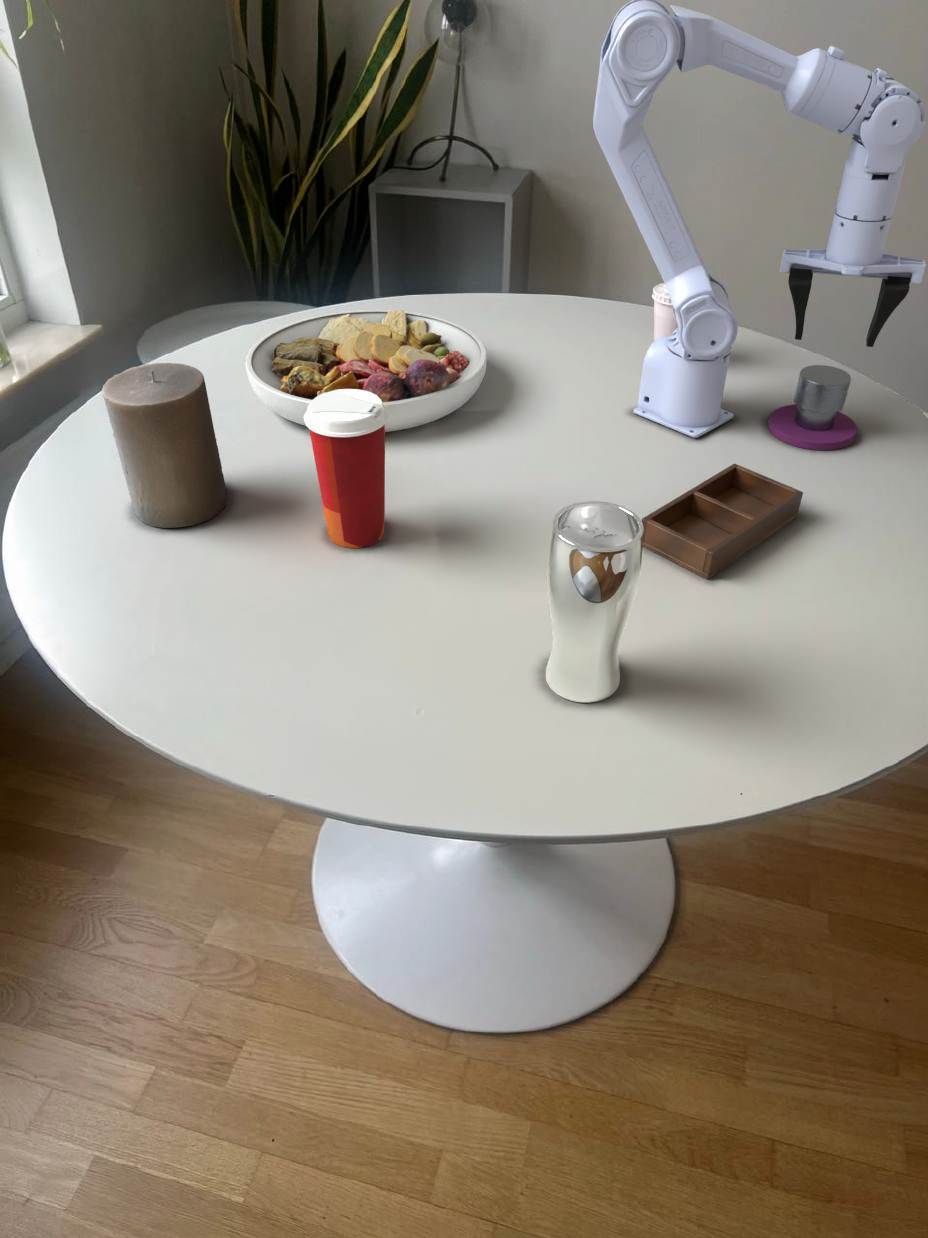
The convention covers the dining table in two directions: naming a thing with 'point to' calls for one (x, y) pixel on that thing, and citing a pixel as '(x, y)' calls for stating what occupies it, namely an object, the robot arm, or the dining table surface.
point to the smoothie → (663, 312)
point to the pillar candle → (166, 444)
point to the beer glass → (591, 596)
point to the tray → (720, 520)
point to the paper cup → (350, 463)
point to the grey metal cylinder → (820, 396)
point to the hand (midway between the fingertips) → (833, 339)
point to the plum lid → (794, 435)
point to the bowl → (369, 364)
